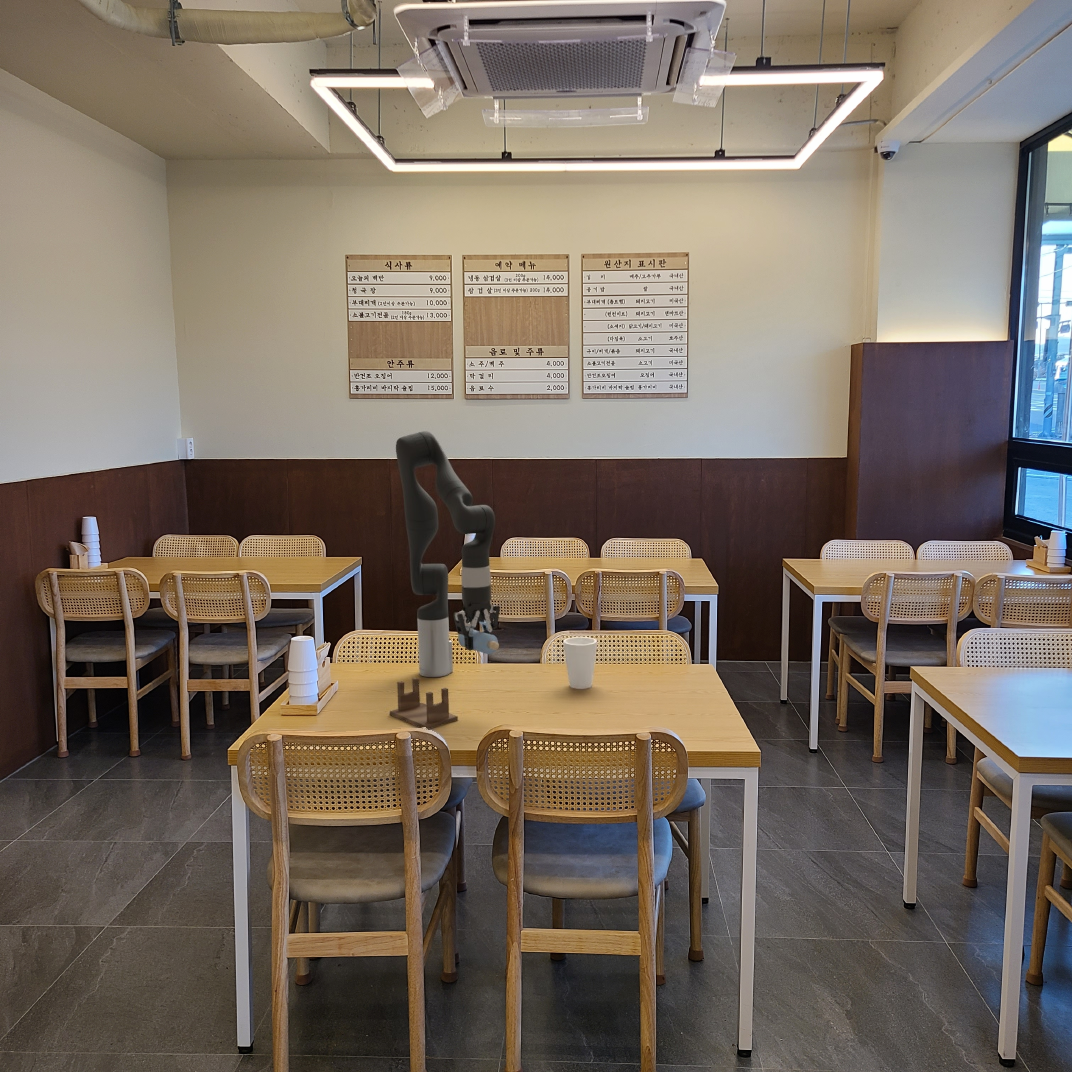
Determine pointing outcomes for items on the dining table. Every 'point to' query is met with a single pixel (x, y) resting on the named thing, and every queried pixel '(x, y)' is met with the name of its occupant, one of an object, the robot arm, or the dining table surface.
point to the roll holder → (422, 707)
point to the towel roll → (481, 642)
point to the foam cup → (580, 661)
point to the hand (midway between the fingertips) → (478, 647)
